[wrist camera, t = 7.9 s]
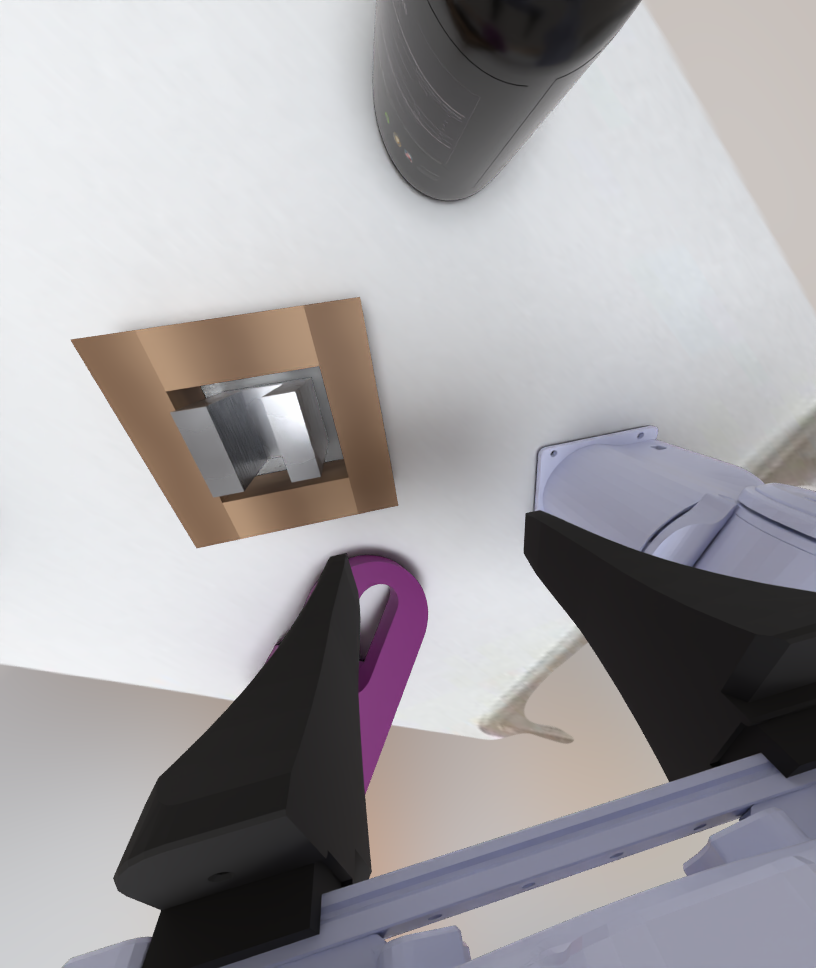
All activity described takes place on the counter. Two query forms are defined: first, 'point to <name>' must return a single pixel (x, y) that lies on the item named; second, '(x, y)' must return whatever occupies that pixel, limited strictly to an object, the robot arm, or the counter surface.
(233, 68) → the counter surface
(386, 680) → the mounting bracket
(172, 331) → the well block
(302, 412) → the bracket
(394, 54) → the supplement bottle
